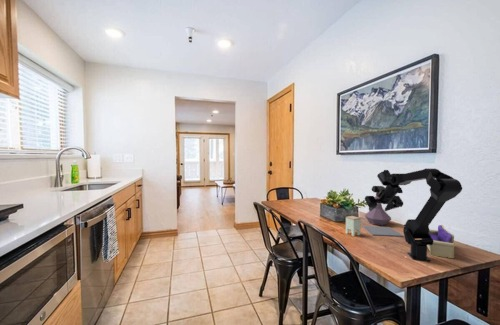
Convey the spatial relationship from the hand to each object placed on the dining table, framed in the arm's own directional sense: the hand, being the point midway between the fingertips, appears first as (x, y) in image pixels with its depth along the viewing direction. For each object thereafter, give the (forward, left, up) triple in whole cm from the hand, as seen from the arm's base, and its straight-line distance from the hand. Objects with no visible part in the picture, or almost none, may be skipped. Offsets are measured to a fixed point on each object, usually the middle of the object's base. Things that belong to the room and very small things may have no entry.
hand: (377, 210), depth 126 cm
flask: (+27, -6, -14) cm, 31 cm away
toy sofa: (-13, -22, -14) cm, 30 cm away
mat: (+8, -4, -14) cm, 16 cm away
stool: (-2, +13, -14) cm, 19 cm away
